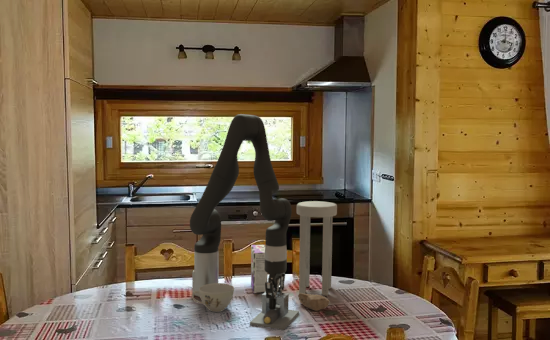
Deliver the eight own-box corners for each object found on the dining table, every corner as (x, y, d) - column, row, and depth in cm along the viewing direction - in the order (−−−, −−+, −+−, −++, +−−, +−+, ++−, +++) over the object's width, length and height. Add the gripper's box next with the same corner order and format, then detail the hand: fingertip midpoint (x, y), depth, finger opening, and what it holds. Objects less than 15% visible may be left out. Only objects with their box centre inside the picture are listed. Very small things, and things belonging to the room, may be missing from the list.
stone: (311, 313, 190) (311, 299, 190) (295, 303, 200) (296, 290, 200) (332, 309, 194) (333, 296, 194) (316, 300, 204) (316, 287, 204)
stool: (292, 294, 210) (294, 205, 207) (299, 283, 225) (300, 200, 222) (332, 297, 207) (334, 207, 203) (336, 285, 222) (338, 201, 219)
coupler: (249, 324, 178) (249, 314, 178) (267, 309, 193) (267, 299, 193) (283, 330, 174) (284, 319, 174) (298, 313, 189) (299, 304, 189)
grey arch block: (261, 313, 183) (262, 294, 182) (266, 308, 187) (266, 290, 186) (284, 316, 180) (284, 297, 179) (288, 312, 184) (288, 293, 184)
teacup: (234, 303, 199) (234, 282, 199) (234, 315, 187) (234, 292, 186) (193, 303, 198) (193, 282, 198) (190, 315, 186) (190, 293, 185)
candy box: (250, 283, 224) (250, 244, 223) (264, 282, 225) (265, 244, 223) (252, 293, 211) (253, 252, 209) (267, 293, 211) (268, 252, 210)
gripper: (272, 251, 190) (272, 299, 191) (257, 261, 176) (256, 312, 178) (292, 253, 187) (292, 301, 189) (278, 263, 174) (278, 315, 175)
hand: (275, 306), depth 183 cm, fingers closed on grey arch block, 4 cm apart
